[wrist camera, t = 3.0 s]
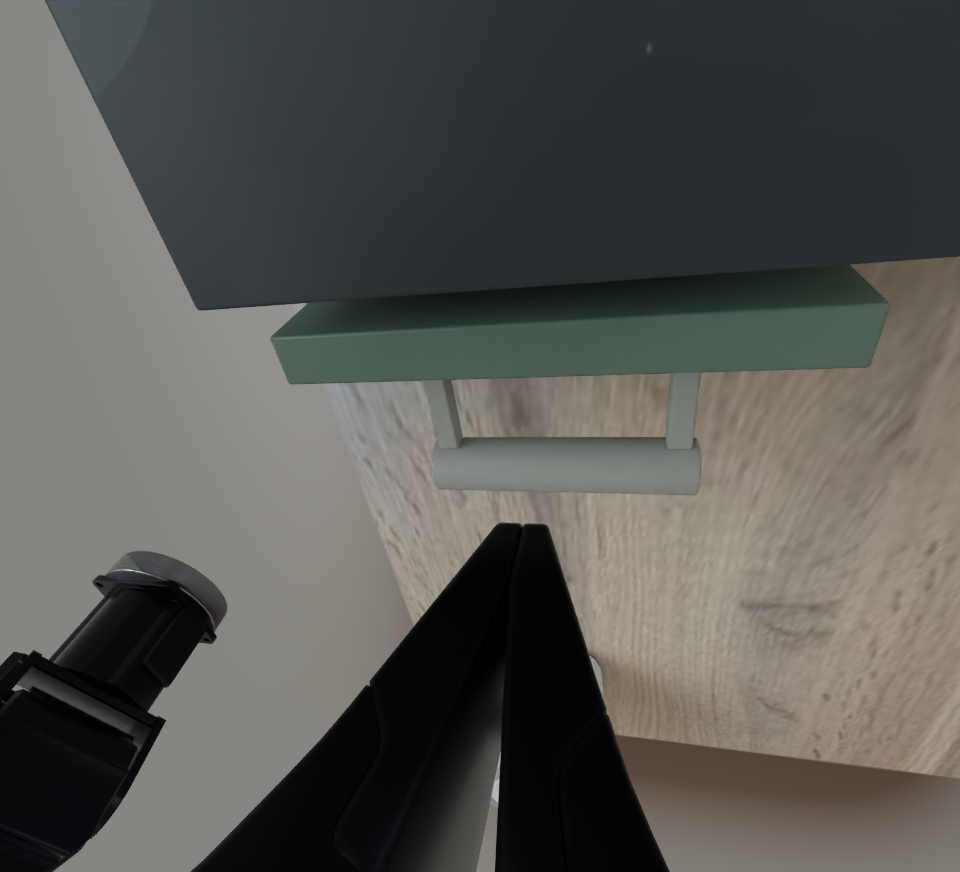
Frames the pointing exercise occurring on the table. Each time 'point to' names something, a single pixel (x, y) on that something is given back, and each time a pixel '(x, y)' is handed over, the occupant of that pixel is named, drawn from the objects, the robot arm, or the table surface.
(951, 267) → the table surface
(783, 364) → the drawer
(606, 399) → the table surface
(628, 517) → the table surface
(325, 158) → the cabinet
